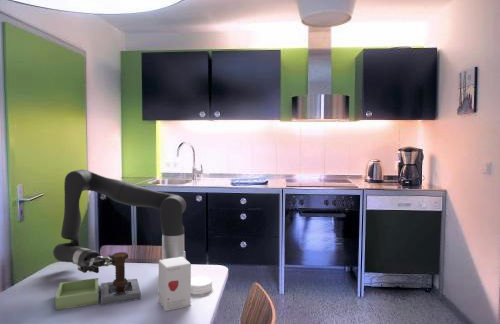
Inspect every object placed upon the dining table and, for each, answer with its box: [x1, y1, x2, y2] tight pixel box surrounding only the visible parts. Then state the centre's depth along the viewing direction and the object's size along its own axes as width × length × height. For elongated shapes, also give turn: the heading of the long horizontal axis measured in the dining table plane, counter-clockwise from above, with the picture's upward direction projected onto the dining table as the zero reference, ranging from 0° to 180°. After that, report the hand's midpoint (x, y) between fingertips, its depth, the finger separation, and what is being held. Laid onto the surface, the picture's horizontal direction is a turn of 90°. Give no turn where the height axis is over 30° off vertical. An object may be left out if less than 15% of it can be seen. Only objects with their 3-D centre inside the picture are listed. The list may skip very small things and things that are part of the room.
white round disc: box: [191, 275, 213, 296], centre depth 136 cm, size 10×10×4 cm
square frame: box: [100, 278, 142, 306], centre depth 131 cm, size 13×14×2 cm
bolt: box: [111, 251, 129, 293], centre depth 131 cm, size 6×5×15 cm
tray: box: [54, 277, 99, 311], centre depth 127 cm, size 13×14×4 cm
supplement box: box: [158, 257, 192, 312], centre depth 123 cm, size 9×9×15 cm
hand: (108, 267), depth 135 cm, fingers open, 8 cm apart
